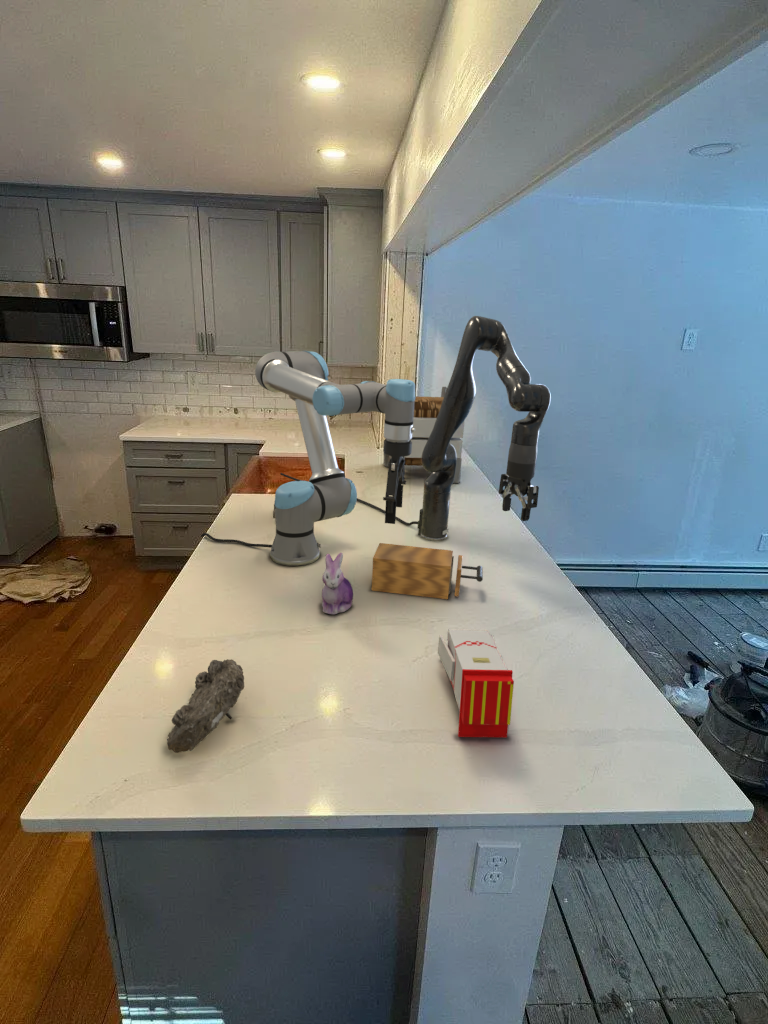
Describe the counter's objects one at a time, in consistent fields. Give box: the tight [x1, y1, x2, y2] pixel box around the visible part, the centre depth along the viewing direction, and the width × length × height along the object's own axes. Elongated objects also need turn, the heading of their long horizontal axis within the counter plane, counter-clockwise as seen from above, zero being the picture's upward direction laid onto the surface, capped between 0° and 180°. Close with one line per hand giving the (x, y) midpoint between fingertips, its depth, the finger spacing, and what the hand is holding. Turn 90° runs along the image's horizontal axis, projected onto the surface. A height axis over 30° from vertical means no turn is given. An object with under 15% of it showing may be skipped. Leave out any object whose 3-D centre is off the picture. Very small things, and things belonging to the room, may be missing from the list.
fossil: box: [166, 658, 245, 754], centre depth 106 cm, size 22×10×15 cm
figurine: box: [321, 552, 354, 615], centre depth 147 cm, size 9×10×15 cm
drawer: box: [449, 554, 484, 598], centre depth 160 cm, size 26×10×8 cm, turn 81°
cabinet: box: [371, 542, 454, 600], centre depth 161 cm, size 21×11×10 cm, turn 81°
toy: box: [437, 628, 515, 738], centre depth 117 cm, size 12×13×30 cm
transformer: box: [383, 386, 466, 484], centre depth 268 cm, size 34×33×41 cm
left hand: (393, 514), depth 157 cm, fingers open, 13 cm apart
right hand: (515, 515), depth 159 cm, fingers open, 8 cm apart
